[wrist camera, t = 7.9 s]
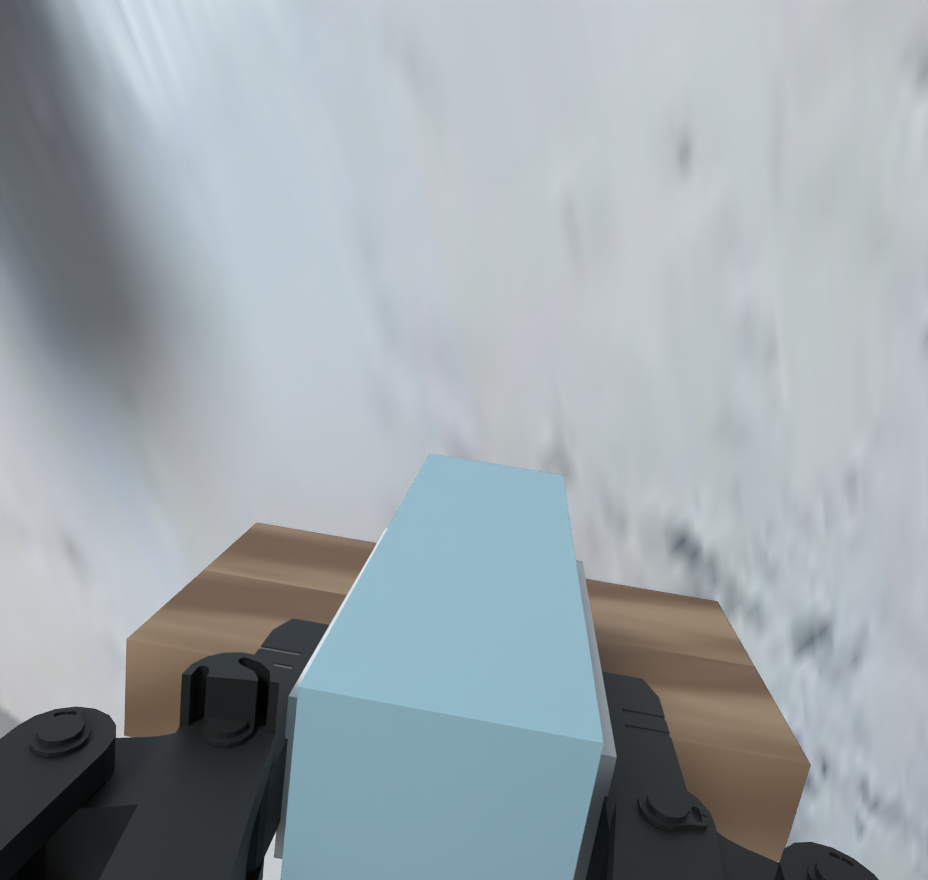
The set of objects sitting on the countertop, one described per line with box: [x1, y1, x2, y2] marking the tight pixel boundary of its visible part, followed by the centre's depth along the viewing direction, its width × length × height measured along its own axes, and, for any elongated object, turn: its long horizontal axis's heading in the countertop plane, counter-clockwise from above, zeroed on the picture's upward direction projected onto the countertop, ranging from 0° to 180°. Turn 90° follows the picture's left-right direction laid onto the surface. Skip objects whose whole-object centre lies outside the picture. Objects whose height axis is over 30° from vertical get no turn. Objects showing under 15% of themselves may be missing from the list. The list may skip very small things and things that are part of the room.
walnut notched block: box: [124, 523, 811, 861], centre depth 23 cm, size 3×18×9 cm, turn 82°
